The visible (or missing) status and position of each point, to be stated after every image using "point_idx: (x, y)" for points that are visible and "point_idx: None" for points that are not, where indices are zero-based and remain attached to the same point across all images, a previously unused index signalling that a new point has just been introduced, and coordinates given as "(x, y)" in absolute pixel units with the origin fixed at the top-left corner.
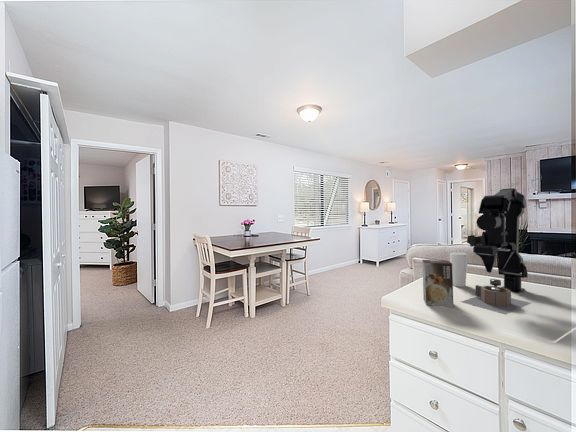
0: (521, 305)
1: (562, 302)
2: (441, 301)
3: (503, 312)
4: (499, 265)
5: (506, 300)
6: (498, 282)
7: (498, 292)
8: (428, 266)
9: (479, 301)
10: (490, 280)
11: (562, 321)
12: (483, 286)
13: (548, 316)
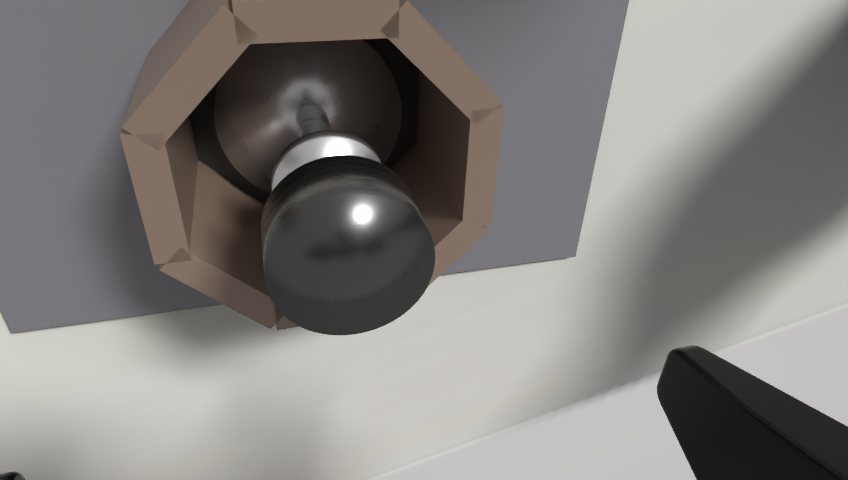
0: None
1: (752, 312)
2: None
3: (44, 302)
4: (726, 419)
5: None
6: (306, 318)
7: (193, 284)
8: None
9: None
10: (282, 223)
11: (314, 476)
12: (310, 11)
13: (340, 418)
